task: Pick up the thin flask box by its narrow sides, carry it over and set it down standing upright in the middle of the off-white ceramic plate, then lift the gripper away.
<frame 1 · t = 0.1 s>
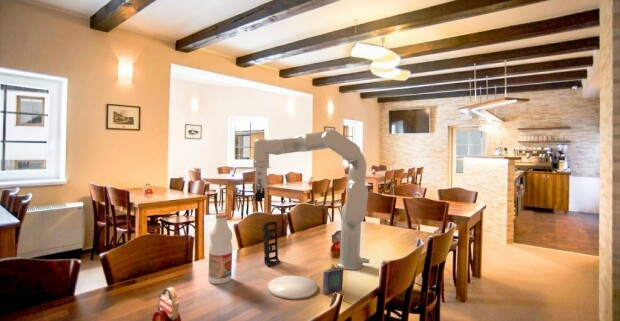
hand: (260, 199, 159), 31 cm above the table, tool pointing down, fingers open, 9 cm apart
flask: (332, 291, 131), on the table
fruit juice: (219, 280, 138), on the table
holder: (270, 263, 161), on the table
plate: (292, 288, 133), on the table
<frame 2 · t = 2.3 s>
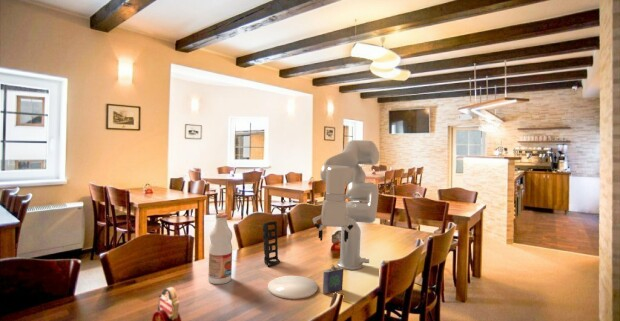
hand: (333, 240, 131), 21 cm above the table, tool pointing down, fingers open, 9 cm apart
nothing on the table moved.
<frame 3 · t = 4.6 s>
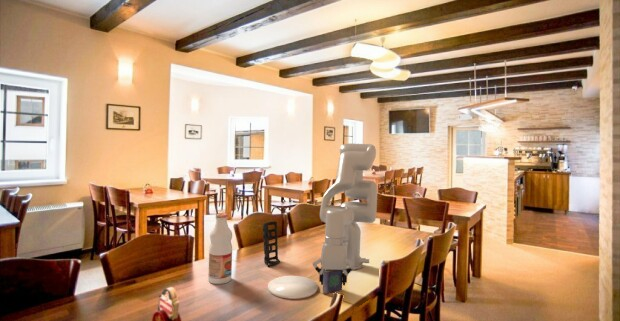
hand: (332, 283, 131), 3 cm above the table, tool pointing down, fingers closed on flask, 8 cm apart
flask: (332, 291, 131), on the table, touching gripper
everything else where it was.
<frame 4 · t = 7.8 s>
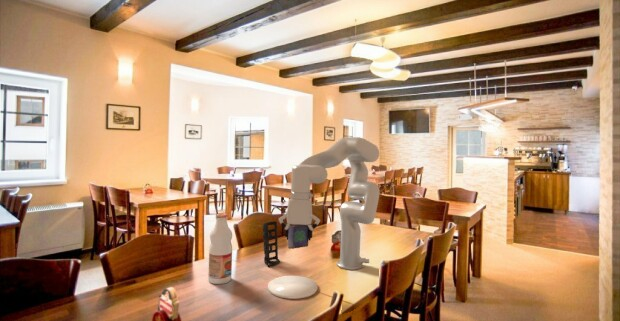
hand: (298, 239, 132), 20 cm above the table, tool pointing down, fingers closed on flask, 8 cm apart
flask: (298, 247, 132), point 17 cm above the table, touching gripper
everything else where it was.
when the fingers open (6 cm above the table, at t = 11.4 s): flask drops 1 cm, resting on plate.
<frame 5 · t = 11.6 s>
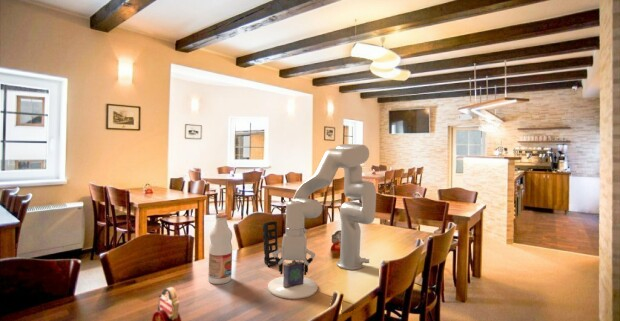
hand: (293, 273, 133), 6 cm above the table, tool pointing down, fingers open, 9 cm apart
flask: (293, 285, 133), point 1 cm above the table, touching plate
everything else where it was.
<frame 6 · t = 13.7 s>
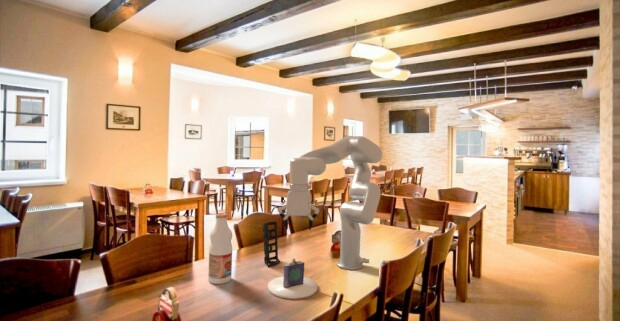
hand: (298, 228, 136), 23 cm above the table, tool pointing down, fingers open, 9 cm apart
nothing on the table moved.
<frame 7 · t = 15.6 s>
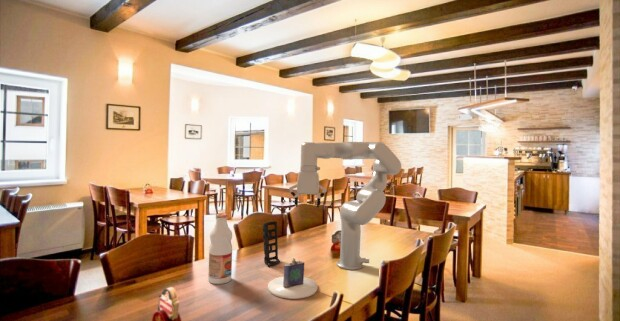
hand: (307, 206, 150), 30 cm above the table, tool pointing down, fingers open, 9 cm apart
nothing on the table moved.
at the end: flask inside the target area on the plate (0.2 cm from its centre), point 1.0 cm above the plate's base; flask tilted 1°; the gripper is holding nothing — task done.
